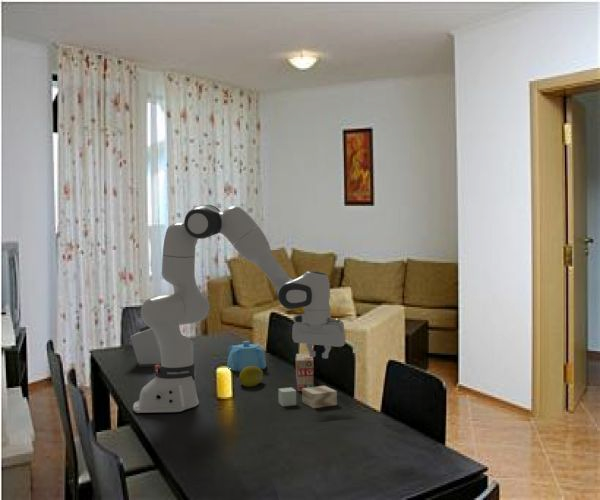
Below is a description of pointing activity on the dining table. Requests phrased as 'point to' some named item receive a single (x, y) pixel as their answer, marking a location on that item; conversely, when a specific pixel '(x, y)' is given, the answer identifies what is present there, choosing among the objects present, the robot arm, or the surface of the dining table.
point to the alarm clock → (146, 347)
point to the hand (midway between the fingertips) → (318, 357)
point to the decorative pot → (246, 356)
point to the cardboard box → (304, 371)
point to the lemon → (250, 376)
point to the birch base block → (319, 396)
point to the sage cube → (287, 396)
